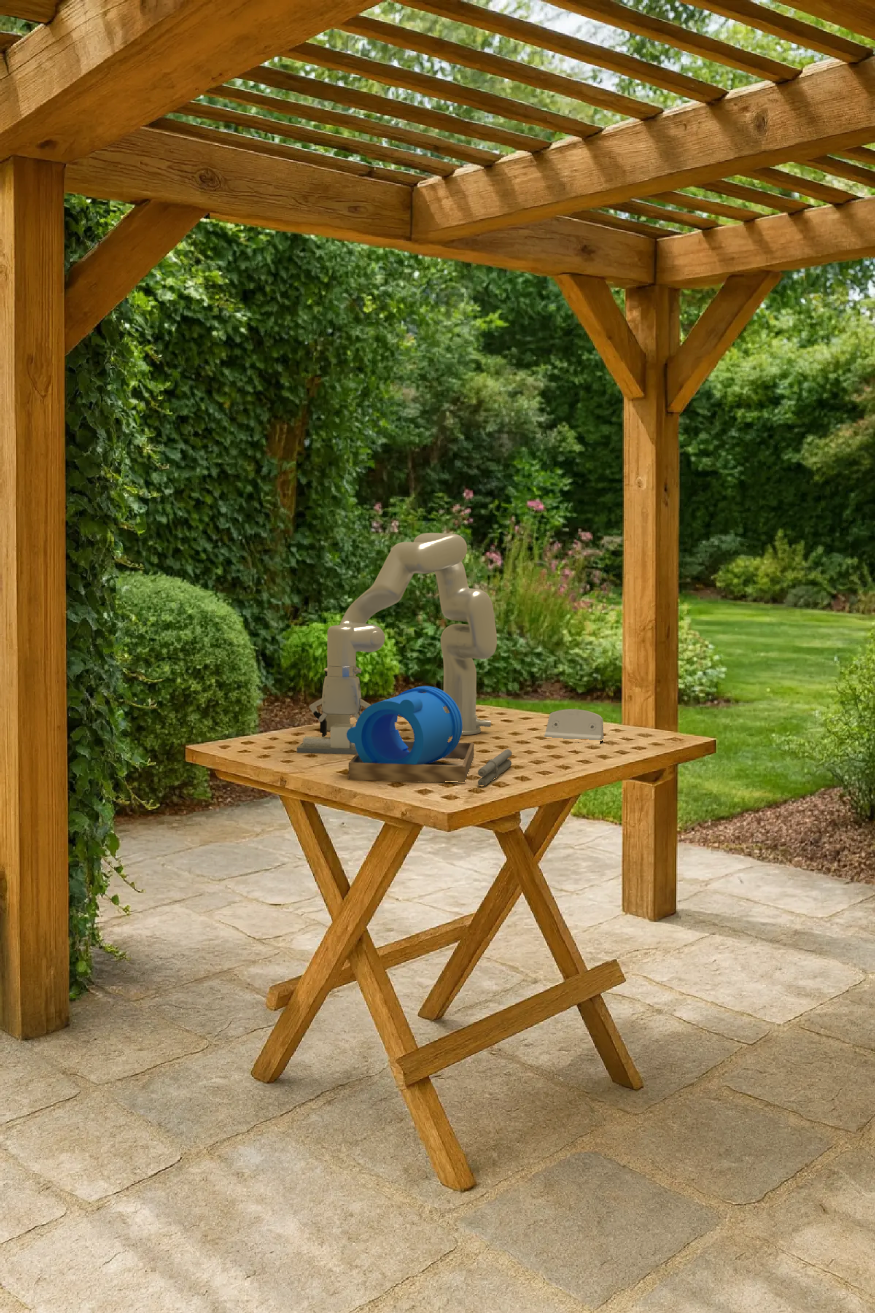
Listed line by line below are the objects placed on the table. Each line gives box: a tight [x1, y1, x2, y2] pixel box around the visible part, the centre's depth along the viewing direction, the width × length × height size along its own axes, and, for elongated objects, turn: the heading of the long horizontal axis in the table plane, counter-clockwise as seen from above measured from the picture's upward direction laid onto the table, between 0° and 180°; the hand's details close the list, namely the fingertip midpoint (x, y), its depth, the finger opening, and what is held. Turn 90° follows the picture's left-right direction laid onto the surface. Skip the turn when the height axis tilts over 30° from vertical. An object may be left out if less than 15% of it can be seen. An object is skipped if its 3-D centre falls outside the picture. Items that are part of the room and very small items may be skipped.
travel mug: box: [322, 667, 351, 732], centre depth 354 cm, size 8×8×18 cm
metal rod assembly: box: [477, 748, 513, 786], centre depth 291 cm, size 26×3×5 cm, turn 163°
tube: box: [347, 685, 462, 765], centre depth 298 cm, size 25×22×19 cm
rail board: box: [296, 735, 357, 755], centre depth 323 cm, size 22×10×3 cm, turn 85°
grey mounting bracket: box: [543, 708, 605, 740], centre depth 342 cm, size 17×5×10 cm, turn 71°
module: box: [330, 723, 354, 748], centre depth 322 cm, size 5×6×5 cm
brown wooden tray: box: [348, 740, 475, 783], centre depth 300 cm, size 28×32×4 cm
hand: (341, 736), depth 322 cm, fingers open, 8 cm apart
